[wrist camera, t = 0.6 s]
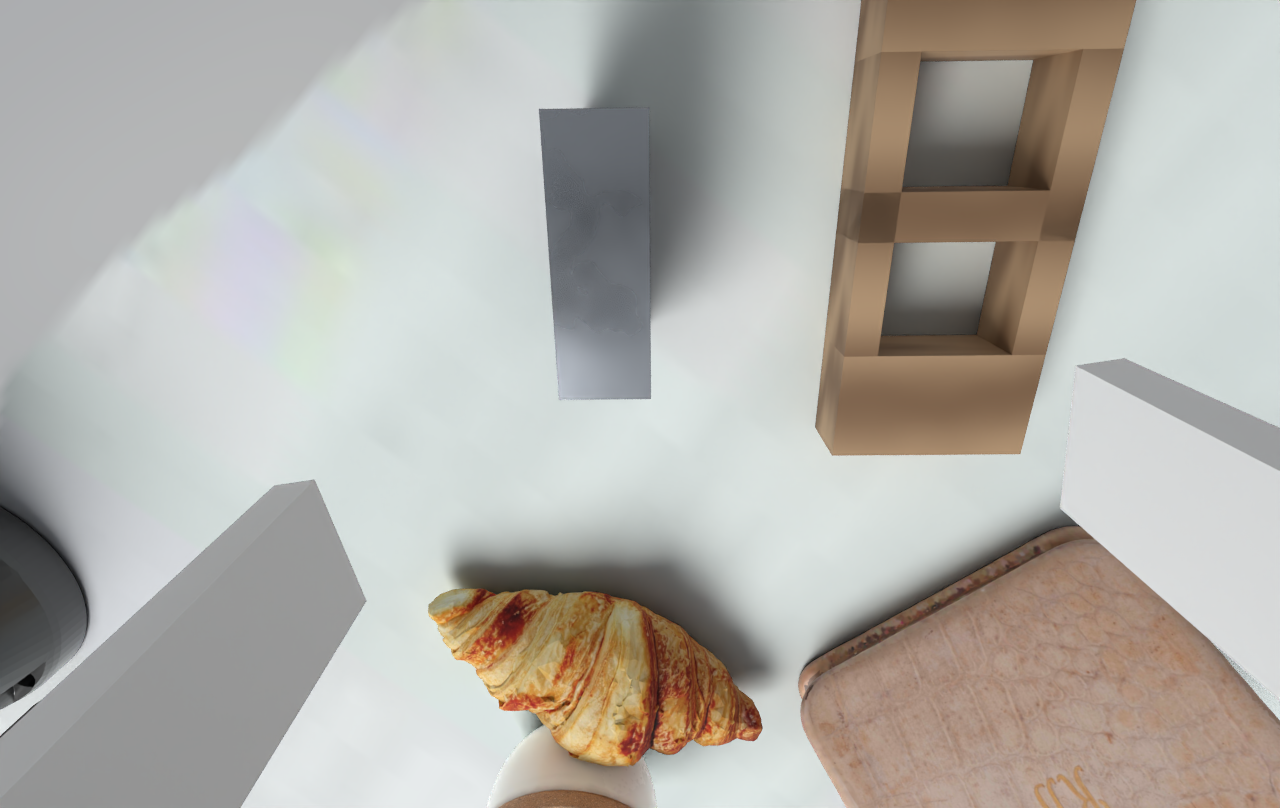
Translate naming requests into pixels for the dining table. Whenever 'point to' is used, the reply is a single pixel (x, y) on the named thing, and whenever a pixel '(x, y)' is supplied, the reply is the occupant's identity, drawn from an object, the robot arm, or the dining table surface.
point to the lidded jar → (567, 779)
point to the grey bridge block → (599, 249)
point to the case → (1040, 697)
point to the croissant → (596, 671)
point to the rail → (961, 223)
